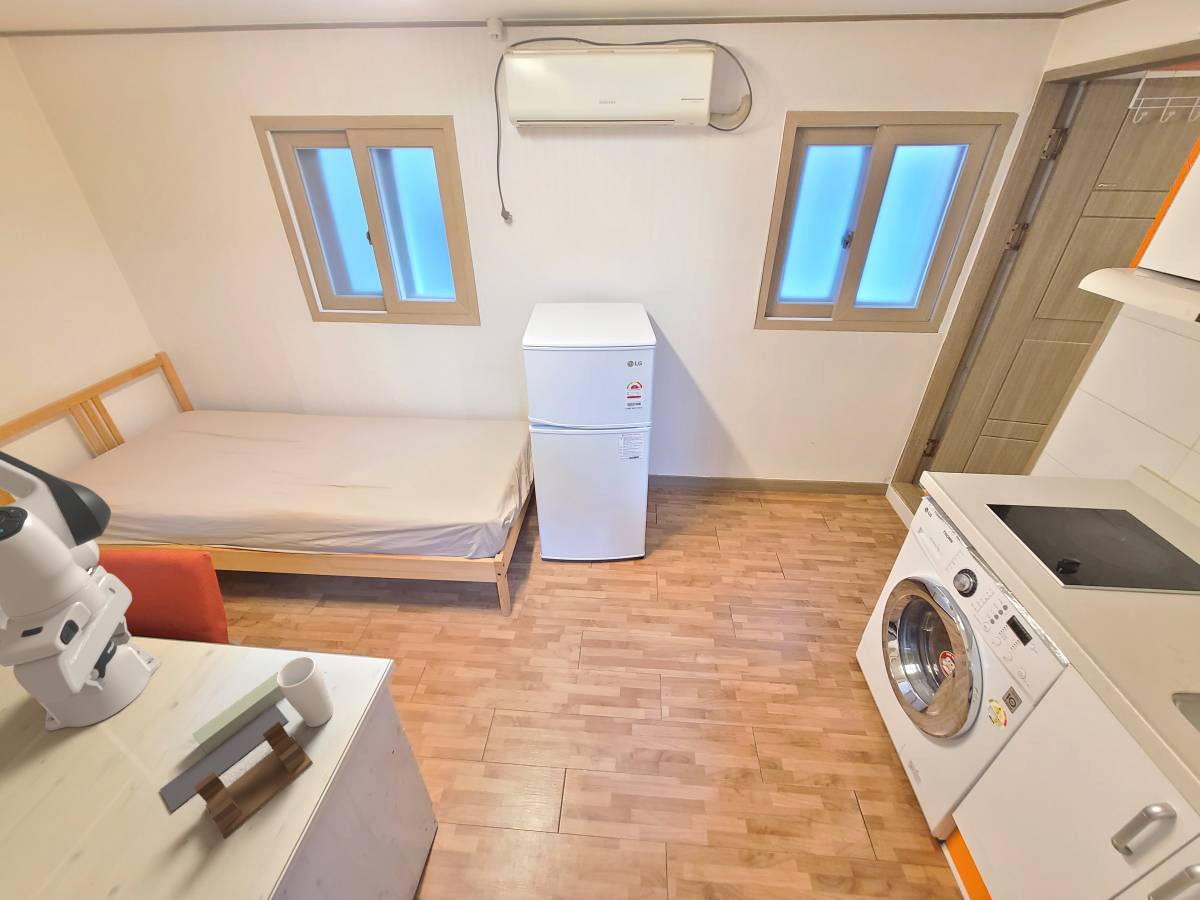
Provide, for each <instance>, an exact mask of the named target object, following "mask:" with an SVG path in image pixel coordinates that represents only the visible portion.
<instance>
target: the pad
mask: <svg viewBox="0 0 1200 900" xmlns="http://www.w3.org/2000/svg"><path fill="white" fill-rule="evenodd" d="M278 722H280V723H281V725H282V726H283V727H284V726H285V725H286V724H288V723H289V720H288V718H287V717H286V716H285V714H283V712H282V711H281V709H280V708H279V707H278V706H277V705H276V703H275V704H274V705H272V706H271V707H270V708H268V709H267V710H266V711H265V712H263V713H262V714H261V715H259V716H258V717H257V718H255V719H254V720H253V721H251V722H250V723H249V724H247V725H246V726H245V727H243V728H242V729H240V730H239V731H238V732H236V733H235V734H234V735H232V736H231V737H230V738H228V739H227V740H226V741H224V742H223V743H222V744H220V745H219V746H218V747H216V748H215V749H214V750H212V751H211V752H210V753H208V754H207V753H206V755H204V756H203V757H202V758H200V759H199V760H198V761H196V762H195V763H193V764H192V765H190V766H189V767H188V768H187V769H185V770H184V771H182V772H181V773H180V774H178V775H177V776H176V777H174V778H173V779H172V780H170V781H169V782H168V783H167V784H166V785H164V786H162V787H161V788H160V789H159V790H160V792H161V794H162V796H163V798H164V800H165V802H166V804H167V806H168V808H169V811H170V812H171V813H174V812H175V811H176V810H177V809H179V808H181V807H182V806H183V805H184V804H186V803H187V802H188V801H189V800H190V799H192V798H193V797H194V796H196V795H197V794H198V793H197V791H196V790H195V788H194V787H195V786H196V785H197V784H199V783H200V782H201V781H203V780H204V779H205V778H206V777H208V776H209V775H210V774H212V773H213V772H214V773H215V774H216V775H217V776H218V777H219V776H221V775H222V774H224V773H225V772H226V771H227V770H229V769H230V768H231V767H233V766H234V765H235V764H236V763H238V762H239V761H241V760H242V759H243V758H244V757H245V756H247V755H248V754H249V753H250V752H252V751H253V750H254V749H256V748H257V747H259V745H261V744H262V743H263V742H264V741H267V740H266V739H265V738H264V736H263V735H262V734H264V733H265V732H266V731H267V730H269V729H270V728H271V727H273V726H274V725H275V724H276V723H278Z"/></svg>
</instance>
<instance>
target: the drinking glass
mask: <svg viewBox="0 0 1200 900" xmlns="http://www.w3.org/2000/svg"><path fill="white" fill-rule="evenodd" d="M277 684H278V686H279V688H280V690H281V692H282V693H283V695H284V698H285V699H286V701H288V703H289V704H290V705H291V707H293V709H295V711H296V712H297V713H298V714H299V716H300V717H301V719H302V720H303V721H304V722H305V724H306V725H307V726H309V727H311V728H317V727H320V726H322V725H324V724H325V723H326V722H328V721H329V720H330V718H331V717H332V715H333V714H334V704H333V703H332V701H331V698H330V695H329V692H328V689H327V686H326V683H325V681H324V678H323V674H322V672H321V670H320V668H319V666H318V664H317V663H316V661H315V660H314V658H312V657H310V656H300V657H296V658H294V659H292V660H290V661H288V662H287V663H286V664H284V665H283V666H282V667H281V669H280V670H279V671H278V675H277Z"/></svg>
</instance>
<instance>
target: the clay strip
mask: <svg viewBox="0 0 1200 900" xmlns="http://www.w3.org/2000/svg"><path fill="white" fill-rule="evenodd" d="M278 673H279V671H277V672H276V673H274V674H272V675H271V676H270V677H268V678H267V679H266V680H264V681H263V682H261V683H260V684H259V685H258V686H256V687H255V688H253V689H252V690H250V692H248V693H246V694H245V695H244V696H241V698H240V699H238V700H236V702H234V703H233V704H231V705H230V706H229V707H228V708H226V709H224V710H223V711H221V713H219V714H217V715H216V716H215V717H213V718H212V719H211V720H209V721H208V722H207V723H205V724H204V725H202V726H201V727H200V728H198V729H197V730H196V731H194V732H193V733H191V735H192V736H193V738H194V739H195V740H196V742H197V743H198V745H199V746H200V747H201V748H202V750H203V751H204V752H205V753H206V755H207V754H208V753H210V752H211V751H212V750H214V749H215V748H216V747H218V746H219V745H220V744H222V743H223V742H224V741H226V740H227V739H228V738H230V737H231V736H232V735H234V734H235V733H236V732H238V731H239V730H240V729H242V728H243V727H245V726H246V725H247V724H249V723H250V722H251V721H253V720H254V719H255V718H257V717H258V716H259V715H261V714H262V713H263V712H265V711H266V710H267V709H269V708H270V707H271V706H273V705H274V704H275V705H276V703H277V702H279V701H280V700H281V699H283V698H285V696H284V695H283V693H282V692H281V690H280V688H279V686H278V684H277V675H278Z"/></svg>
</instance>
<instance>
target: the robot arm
mask: <svg viewBox="0 0 1200 900" xmlns="http://www.w3.org/2000/svg"><path fill="white" fill-rule="evenodd" d="M0 490H2V491H4V492H6V493H8V494H10V495H13V496H14V497H16V498H19V499H18V500H17V501H14V502H12V503H9V504H7V505H4V506H0V665H1V666H2V667H5V668H6V667H12V666H13V675H14V678H15V680H16V682H18V684H19V685H20V686H21V687H22V688H23V689H24V690H25V692H27V693H28V694H30V696H31V697H32V698H33V699H35V701H37V702H38V703H39V704H40V705H41V706H42V707H43V708H44V709H45V710H46V711H45V713H46V714H45V723H44V727H45V728H46V730H47V731H52V732H53V731H55V730H58V729H59V730H60V729H63V728H72V727H73V728H81V727H85V726H90V725H93V724H96V723H99V722H101V721H104V720H106V719H108V718H109V717H112V716H113V715H115V714H117V713H118V712H119V711H121V710H123V709H124V708H126V707H127V706H128V705H130V704H131V703H132V702H133V701H135V699H136V698H137V697H138V696H139V695H140V694H141V693H142V691H143V690H144V689H145V688H146V685H147V683H148V682H149V680H150V678H151V676H152V675H153V674H154V673H155V672H156V670H158V669H159V667H160V665H161V660H159V659H158V658H156V657H154V655H151V654H150V653H149V652H147V651H146V650H144V649H143V648H141V647H140V646H138V645H137V644H135V643H133V642H132V641H130V639H131V637H132V634H131V633H130V632H129V630H128V625H127V619H126V616H125V613H126V612H127V610H128V608H129V607H130V605H131V603H132V601H133V596H132V595H133V594H132V592H131V591H130V589H129V588H128V587H127V586H126V585H125V584H124V583H123V582H122V581H121V579H119V578H118V577H117V576H116V575H114V574H113V573H109V572H107V570H106V569H105V568H104V567H103V566H102V565H98V563H99V561H100V560H99V559H100V549H99V545H98V543H97V542H96V540H95V539H97V538H99V537H102V535H103V534H104V532H105V531H106V529H107V527H108V525H109V522H110V519H111V515H112V511H111V508H110V507H109V505H108V503H107V502H106V501H105V500H104V499H103V498H102V497H101V496H100V495H99V494H98V493H96V492H95V491H93V490H91V489H90V488H89V487H86V486H85V485H82V484H81V483H77V482H74V481H70V480H66V479H64V478H61V477H58V476H55V475H53V474H51V473H49V472H47V471H44V470H42V469H40V468H38V467H36V466H33V465H32V464H30V463H28V462H25V461H23V460H21V459H18V458H17V457H15V456H13V455H11V454H9V453H6V452H4V451H2V450H0Z"/></svg>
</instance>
